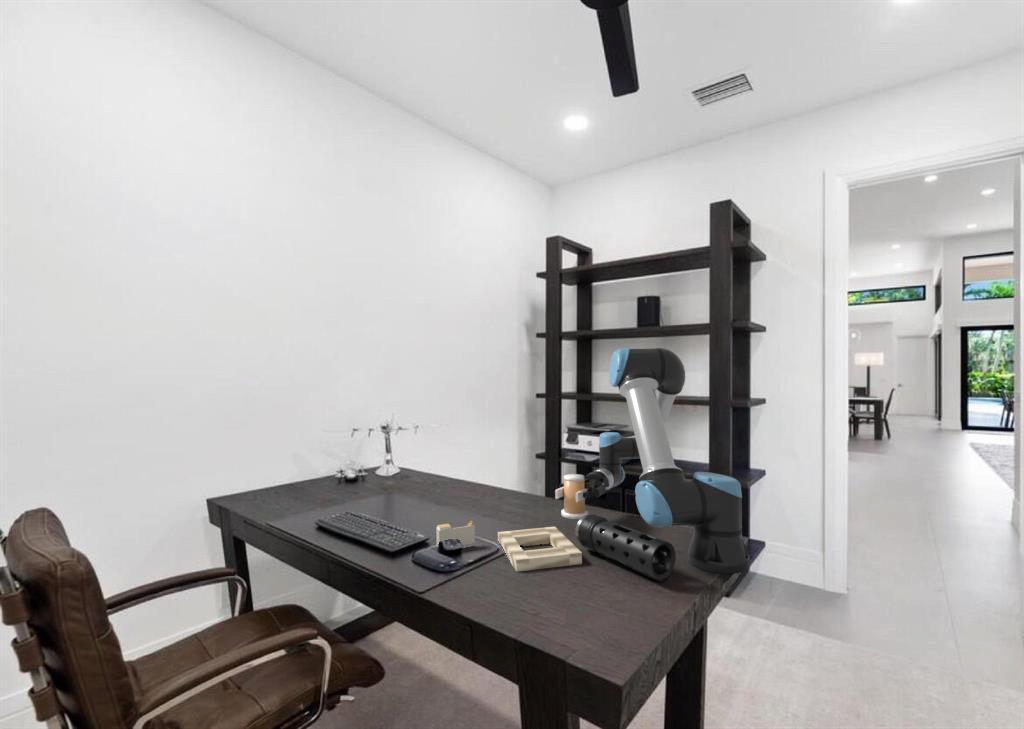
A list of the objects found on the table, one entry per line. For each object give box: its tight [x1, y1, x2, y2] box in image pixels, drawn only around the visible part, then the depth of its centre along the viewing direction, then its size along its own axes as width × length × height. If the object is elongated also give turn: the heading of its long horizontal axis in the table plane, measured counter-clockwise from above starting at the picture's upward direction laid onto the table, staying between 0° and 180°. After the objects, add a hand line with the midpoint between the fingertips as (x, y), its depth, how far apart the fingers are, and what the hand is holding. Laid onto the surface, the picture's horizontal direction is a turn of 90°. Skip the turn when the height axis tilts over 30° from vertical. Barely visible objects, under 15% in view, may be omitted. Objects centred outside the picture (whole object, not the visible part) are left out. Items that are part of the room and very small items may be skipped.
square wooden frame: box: [497, 526, 583, 573], centre depth 140 cm, size 22×18×3 cm
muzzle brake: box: [574, 514, 677, 583], centre depth 131 cm, size 10×28×10 cm, turn 33°
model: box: [435, 519, 476, 546], centre depth 145 cm, size 3×11×8 cm, turn 114°
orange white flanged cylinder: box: [560, 473, 589, 520], centre depth 156 cm, size 8×8×12 cm
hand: (566, 495), depth 152 cm, fingers closed on orange white flanged cylinder, 6 cm apart
